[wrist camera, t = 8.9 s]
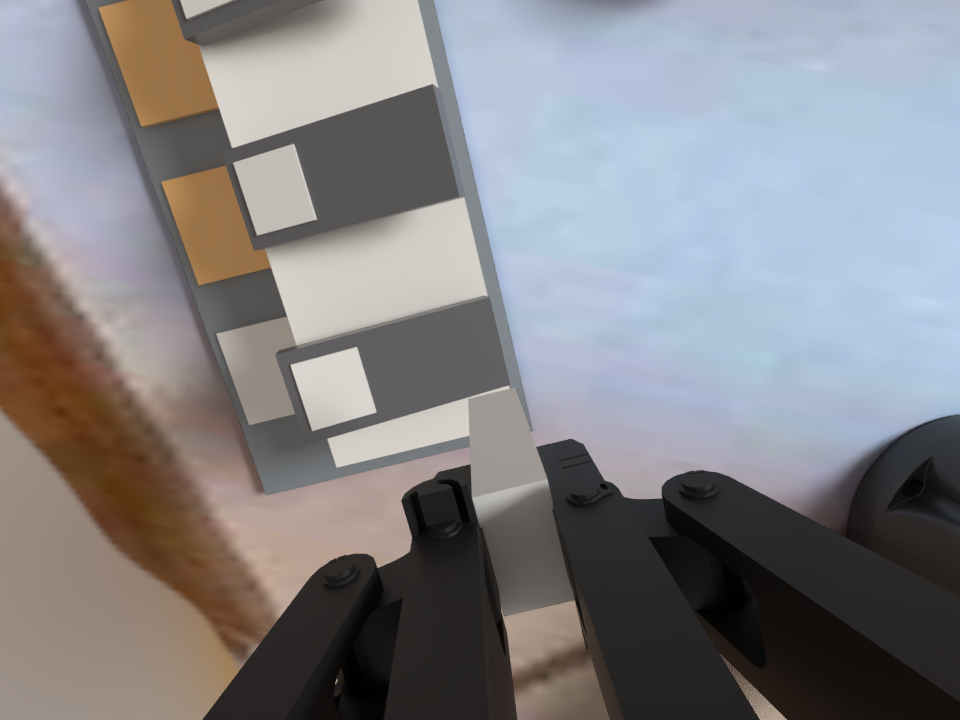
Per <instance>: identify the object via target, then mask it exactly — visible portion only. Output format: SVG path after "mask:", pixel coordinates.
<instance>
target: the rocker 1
mask: <svg viewBox="0 0 960 720" xmlns="http://www.w3.org/2000/svg"><path fill="white" fill-rule="evenodd" d="M171 1H172V4H173V7H174V10H175V13H176V16H177V19H178V22H179V25H180V28H181V31H182V34H183V37H184V39H185V40H187V41H190V42H193V43H195V44H198V45H201V46H203V47H204V46H206V45H209V44H211V43H214V42H217V41H219V40H222V39H224V38H227V37H229V36H232V35H235V34H237V33H240V32H242V31H245V30H248V29H250V28H253V27H255V26H258V25H260V24H263V23H266V22H268V21H271V20H273V19H276V18H278V17H281V16H284V15H286V14H289V13H291V12H294V11H296V10H299V9H302V8H304V7H307V6H309V5H312V4H314V3H317V2H320V1H322V0H171Z"/></svg>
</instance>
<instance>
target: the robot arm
mask: <svg viewBox="0 0 960 720" xmlns="http://www.w3.org/2000/svg"><path fill="white" fill-rule="evenodd" d="M468 410H469V435H470V460H471V464H470V465H466V466H462V467H458V468H454V469H450V470H445V471H441V472H438V474H437V475H436V476H435V477H434V478H433V479H431V480H428V481H425V482H422V483H420V484H418V485H417V486H415V487H413V488H412V489H410V490H409V491H408V492H407V493H405V495H404V496H403V498H402V500H401V501H402V505H403V508H404V511H405V515H406V518H407V521H408V525H409V528H410V531H411V535H412V543H411V549H410V552H409V553H407V554H406V555H404V556H403V557H401V558H399V559H397V560H395V561H393V562H391V563H389V564H386V565H384V566H382V567H379V568H377V566H376V563H375V560H374V558H373V557H371V556H369V555H367V554H351V555H344V556H341V557H338V559H336V558H335V559H333V560H331V561H329V562H328V563H327V564H326V565H324V566H323V567H321V568H320V569H318V570H317V571H316V572H315V573H314V574H313V575H312V576H311V577H310V578H309V580H308V581H307V582H306V584H305V585H304V586H303V588H302V589H301V590H300V592H299V593H298V594H297V596H296V597H295V598H294V600H293V601H292V602H291V604H290V605H289V606H288V608H287V609H286V610H285V611H284V613H283V614H282V615H281V617H280V618H279V619H278V621H277V622H276V623H275V625H274V626H273V627H272V629H271V630H270V631H269V633H268V634H267V635H266V637H265V638H264V639H263V641H262V642H261V643H260V644H259V646H258V647H257V648H256V650H255V651H254V652H253V654H252V655H251V656H250V658H249V659H248V660H247V662H246V663H245V664H244V666H243V667H242V668H241V670H240V671H239V672H238V674H237V675H236V676H235V678H234V679H233V680H232V681H231V683H230V684H229V685H228V687H227V688H226V689H225V691H224V692H223V693H222V695H221V696H220V697H219V699H218V700H217V701H216V703H215V704H214V705H213V707H212V708H211V709H210V711H209V712H208V713H207V714H206V716H205V717H204V718H203V720H517V714H516V705H515V697H514V689H513V680H512V672H511V663H510V655H509V646H508V638H507V632H506V628H505V624H504V620H503V617H502V613H501V608H502V611H503V615H504V616H508V615H513V614H517V613H521V612H525V611H530V610H534V609H538V608H543V607H547V606H551V605H555V604H560V603H564V602H568V601H573V600H575V602H576V607H577V611H578V615H579V620H580V624H581V628H582V632H583V637H584V641H585V645H586V649H589V652H590V655H591V658H592V662H593V665H594V668H595V672H596V675H597V678H598V681H599V685H600V688H601V691H602V695H603V698H604V701H605V705H606V708H607V711H608V714H609V718H610V720H760V719H759V718H758V716H757V714H756V713H755V711H754V709H753V708H752V706H751V705H750V703H749V701H748V700H747V698H746V696H745V695H744V693H743V692H742V690H741V688H740V687H739V685H738V683H737V682H736V680H735V678H734V677H733V675H732V674H731V672H730V670H729V669H728V667H727V665H726V664H725V662H724V660H723V659H722V657H721V656H720V654H721V655H722V656H723V657H724V658H725V659H726V660H727V661H728V662H729V663H730V664H731V665H732V666H733V667H734V668H735V669H736V670H737V671H738V672H740V673H741V674H742V675H743V676H744V677H745V678H746V679H747V680H748V681H749V682H750V683H751V684H752V685H753V686H754V687H755V688H756V689H757V690H758V691H759V692H760V693H761V694H762V695H763V696H764V697H765V698H766V699H767V700H768V701H769V702H770V703H771V704H772V705H773V706H774V707H775V708H776V709H777V710H778V711H779V712H780V713H781V714H782V715H783V716H784V717H785V718H786V719H787V720H960V415H955V416H950V417H946V418H943V419H939V420H936V421H933V422H931V423H928V424H926V425H924V426H922V427H920V428H918V429H916V430H914V431H912V432H911V433H909V434H907V435H906V436H904V437H903V438H901V439H900V440H899V441H897V442H896V443H895V444H893V445H892V446H891V447H890V448H889V449H888V450H887V451H886V452H885V453H884V454H883V455H882V456H881V457H880V458H879V459H878V460H877V461H876V462H875V464H874V465H873V466H872V467H871V469H870V470H869V471H868V473H867V474H866V476H865V478H864V479H863V481H862V483H861V485H860V486H859V488H858V491H857V493H856V495H855V498H854V501H853V504H852V508H851V512H850V517H849V527H848V535H849V539H847V538H845V537H844V536H842V535H840V534H838V533H836V532H834V531H832V530H830V529H828V528H826V527H824V526H823V525H821V524H819V523H817V522H815V521H813V520H811V519H809V518H807V517H805V516H803V515H801V514H800V513H798V512H796V511H794V510H792V509H790V508H788V507H786V506H784V505H782V504H780V503H779V502H777V501H775V500H773V499H771V498H769V497H767V496H765V495H763V494H761V493H759V492H757V491H756V490H754V489H752V488H750V487H748V486H746V485H744V484H742V483H740V482H738V481H736V480H735V479H733V478H731V477H729V476H726V475H723V474H720V473H717V472H708V471H703V470H700V471H696V472H695V471H689V472H686V473H684V474H680V475H676V476H675V477H673V478H671V479H669V480H667V481H666V482H665V484H664V485H663V486H662V498H663V499H630V498H625V497H623V495H622V494H621V492H620V490H619V489H618V488H617V487H616V486H615V485H614V484H613V483H610V482H607V481H604V479H603V477H602V475H601V474H600V472H599V470H598V469H597V467H596V465H595V463H594V462H593V460H592V458H591V457H590V455H589V453H588V451H587V450H586V448H585V446H584V445H583V444H581V443H579V442H577V441H575V440H573V439H568V440H564V441H560V442H556V443H552V444H547V445H543V446H539V447H536V445H535V442H534V440H533V437H532V434H531V431H530V428H529V425H528V423H527V420H526V417H525V414H524V411H523V408H522V405H521V403H520V400H519V397H518V394H517V391H516V388H511V389H507V390H503V391H498V392H494V393H490V394H486V395H482V396H478V397H474V398H469V399H468ZM500 604H501V605H500ZM719 653H720V654H719ZM336 679H337V680H338V681H337V683H336V685H335V682H336Z"/></svg>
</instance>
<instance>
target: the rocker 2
mask: <svg viewBox="0 0 960 720" xmlns="http://www.w3.org/2000/svg"><path fill="white" fill-rule="evenodd" d="M275 356H276V359H277V362H278V365H279V368H280V371H281V373H282V376H283V379H284V382H285V385H286V388H287V391H288V394H289V397H290V400H291V403H292V406H293V409H294V412H295V415H296V418H297V421H298V424H299V427H300V430H301V433H302V436H303V439H304V442H305V444H306V445H308V444H311V443H315V442H318V441H322V440H325V439H328V438H332V437H335V436H339V435H342V434H345V433H349V432H352V431H356V430H359V429H362V428H366V427H369V426H373V425H376V424H379V423H383V422H386V421H390V420H393V419H396V418H400V417H403V416H407V415H410V414H413V413H417V412H420V411H424V410H427V409H430V408H434V407H437V406H441V405H444V404H447V403H451V402H454V401H458V400H461V399H465V398H468V397H471V396H475V395H478V394H482V393H485V392H488V391H492V390H495V389H499V388H502V387H505V386H509V385H510V380H509V376H508V372H507V368H506V363H505V359H504V355H503V351H502V347H501V342H500V338H499V334H498V330H497V325H496V321H495V317H494V313H493V308H492V304H491V300H490V297H488V296H485V295H484V296H480V297H476V298H473V299H469V300H465V301H461V302H458V303H454V304H450V305H446V306H443V307H439V308H435V309H431V310H428V311H424V312H420V313H417V314H413V315H409V316H405V317H402V318H398V319H394V320H390V321H387V322H383V323H379V324H375V325H372V326H368V327H364V328H360V329H357V330H353V331H349V332H345V333H342V334H338V335H334V336H330V337H327V338H323V339H319V340H315V341H312V342H308V343H304V344H300V345H297V346H293V347H289V348H285V349H282V350H279V351H278V352H277V353H276V354H275Z"/></svg>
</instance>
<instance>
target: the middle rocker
mask: <svg viewBox="0 0 960 720" xmlns="http://www.w3.org/2000/svg"><path fill="white" fill-rule="evenodd" d="M221 153H222V156H223V159H224V162H225V165H226V168H227V171H228V174H229V177H230V181H231V184H232V187H233V190H234V193H235V196H236V199H237V202H238V205H239V208H240V211H241V214H242V217H243V220H244V223H245V226H246V229H247V232H248V235H249V238H250V241H251V244H252V247H253V250H254V251H257V250H263V249H269V248H273V247H276V246H280V245H284V244H288V243H292V242H295V241H299V240H303V239H307V238H311V237H315V236H318V235H322V234H326V233H330V232H334V231H337V230H341V229H345V228H349V227H353V226H357V225H360V224H364V223H368V222H372V221H376V220H379V219H383V218H387V217H391V216H395V215H399V214H402V213H406V212H410V211H414V210H418V209H421V208H425V207H429V206H433V205H437V204H441V203H444V202H448V201H452V200H456V199H460V198H463V197H466V195H465V191H464V186H463V182H462V178H461V174H460V169H459V165H458V161H457V157H456V153H455V148H454V144H453V140H452V136H451V131H450V127H449V123H448V119H447V114H446V110H445V106H444V102H443V97H442V93H441V89H439V88H438V87H436V86H435V85H433V84H431V85H428V86H425V87H422V88H419V89H415V90H412V91H409V92H406V93H403V94H400V95H397V96H394V97H391V98H387V99H384V100H381V101H378V102H375V103H372V104H369V105H366V106H362V107H359V108H356V109H353V110H350V111H347V112H344V113H341V114H338V115H334V116H331V117H328V118H325V119H322V120H319V121H316V122H313V123H309V124H306V125H303V126H300V127H297V128H294V129H291V130H288V131H285V132H281V133H278V134H275V135H272V136H269V137H266V138H263V139H260V140H257V141H253V142H250V143H247V144H244V145H241V146H238V147H235V148H232V149H228V150H225V151H222V152H221Z"/></svg>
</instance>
